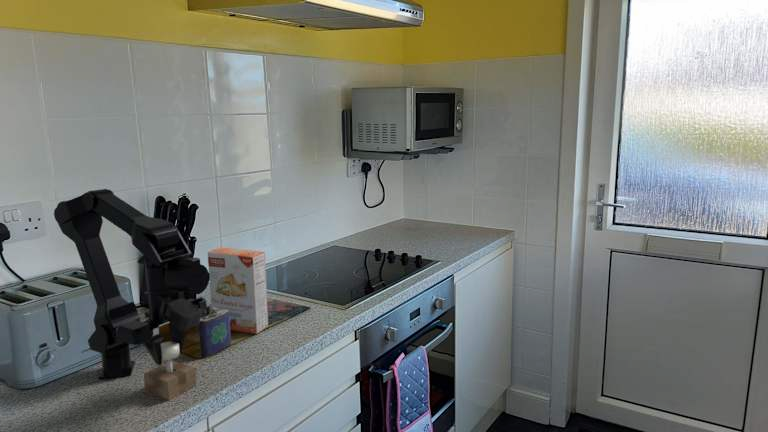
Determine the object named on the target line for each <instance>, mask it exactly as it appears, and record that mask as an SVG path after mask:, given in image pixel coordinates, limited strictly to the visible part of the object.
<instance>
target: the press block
mask: <svg viewBox="0 0 768 432" xmlns="http://www.w3.org/2000/svg"><path fill="white" fill-rule="evenodd" d="M172 366H173V372H172V373H170V374H168V373H167V371H166V363H164V364H161V365H158V366H157V367H155V368H154V369H151V370H149V371H146V372H145V373H143V382H144V384H143V385H144V392H145V393H146V394H149V395H152V396H155V397H158V398H161V399H164V400H167V401H171V400H173V399H175V398H177V397H178V396H180V395H182V394H184V393H186V392H188V391H189V390H191V389H193V388H195V387H197V376H196V372H197V371H196V367H194V366H191V365H188V364H184V363H180V362H178V361H174V360H172Z"/></svg>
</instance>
